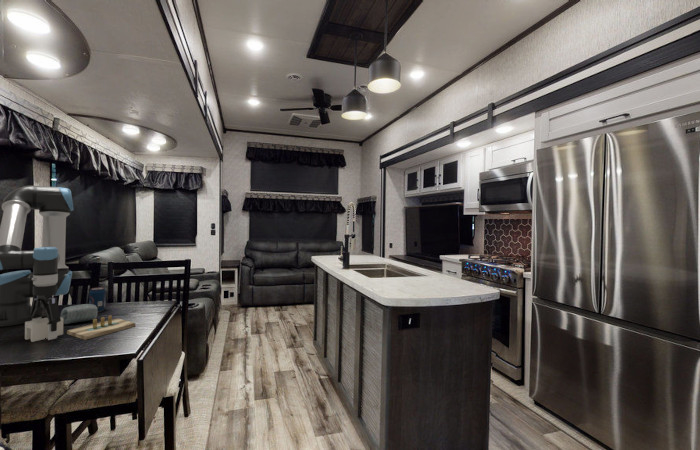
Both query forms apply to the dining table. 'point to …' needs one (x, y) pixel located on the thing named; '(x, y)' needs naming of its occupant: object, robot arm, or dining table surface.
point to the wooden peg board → (100, 328)
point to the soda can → (97, 298)
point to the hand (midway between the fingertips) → (44, 336)
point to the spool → (79, 313)
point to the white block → (40, 329)
